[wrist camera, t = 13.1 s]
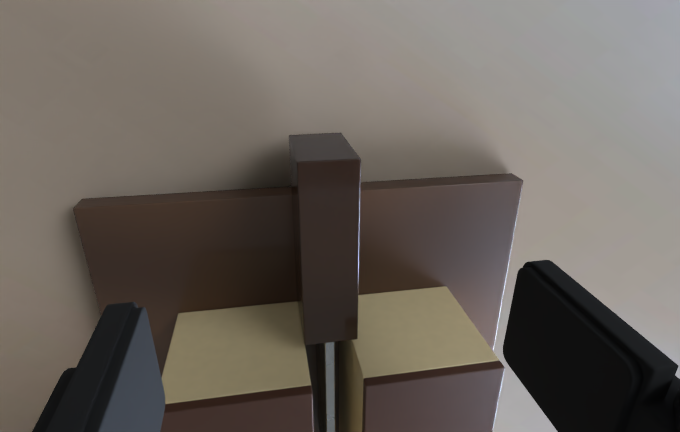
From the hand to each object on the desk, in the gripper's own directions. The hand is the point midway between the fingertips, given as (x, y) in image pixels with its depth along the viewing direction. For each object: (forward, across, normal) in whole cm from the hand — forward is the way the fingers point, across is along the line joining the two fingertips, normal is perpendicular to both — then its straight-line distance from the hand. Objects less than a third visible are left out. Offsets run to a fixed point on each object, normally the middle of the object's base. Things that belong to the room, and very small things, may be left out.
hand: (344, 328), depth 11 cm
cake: (+8, 0, +11) cm, 14 cm away
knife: (+8, 0, +4) cm, 9 cm away
